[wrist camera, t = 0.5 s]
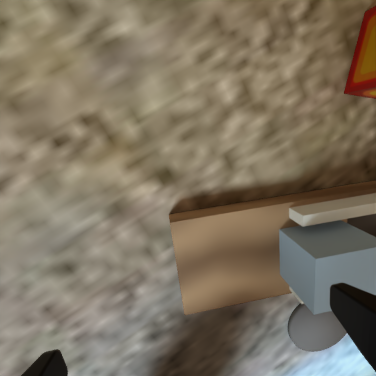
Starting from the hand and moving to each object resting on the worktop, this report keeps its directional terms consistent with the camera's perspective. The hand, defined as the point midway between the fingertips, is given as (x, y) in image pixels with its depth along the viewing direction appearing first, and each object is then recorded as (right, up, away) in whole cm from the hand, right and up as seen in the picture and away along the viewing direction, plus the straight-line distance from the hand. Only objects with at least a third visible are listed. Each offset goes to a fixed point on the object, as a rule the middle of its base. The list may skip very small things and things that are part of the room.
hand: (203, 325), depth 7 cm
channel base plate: (+11, -1, +16) cm, 19 cm away
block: (+11, -1, +14) cm, 18 cm away
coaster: (+16, -12, +20) cm, 28 cm away
